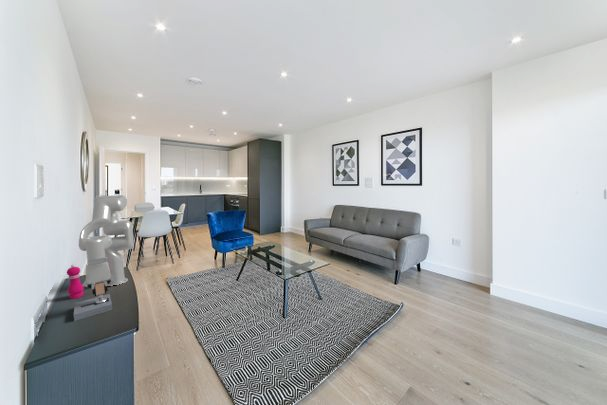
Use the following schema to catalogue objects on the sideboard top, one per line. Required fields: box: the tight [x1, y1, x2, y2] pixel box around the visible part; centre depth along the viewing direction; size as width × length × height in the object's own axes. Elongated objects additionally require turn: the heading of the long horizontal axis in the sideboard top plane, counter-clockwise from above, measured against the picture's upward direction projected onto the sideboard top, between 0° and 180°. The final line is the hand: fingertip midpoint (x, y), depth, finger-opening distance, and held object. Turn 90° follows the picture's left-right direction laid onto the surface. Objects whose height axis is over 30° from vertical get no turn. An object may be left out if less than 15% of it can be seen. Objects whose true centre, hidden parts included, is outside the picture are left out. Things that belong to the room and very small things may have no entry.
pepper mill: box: [66, 264, 85, 300], centre depth 149 cm, size 7×7×20 cm
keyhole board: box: [73, 293, 113, 322], centre depth 133 cm, size 17×15×3 cm
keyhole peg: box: [95, 281, 108, 305], centre depth 135 cm, size 5×5×11 cm
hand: (100, 293), depth 135 cm, fingers closed on keyhole peg, 3 cm apart
